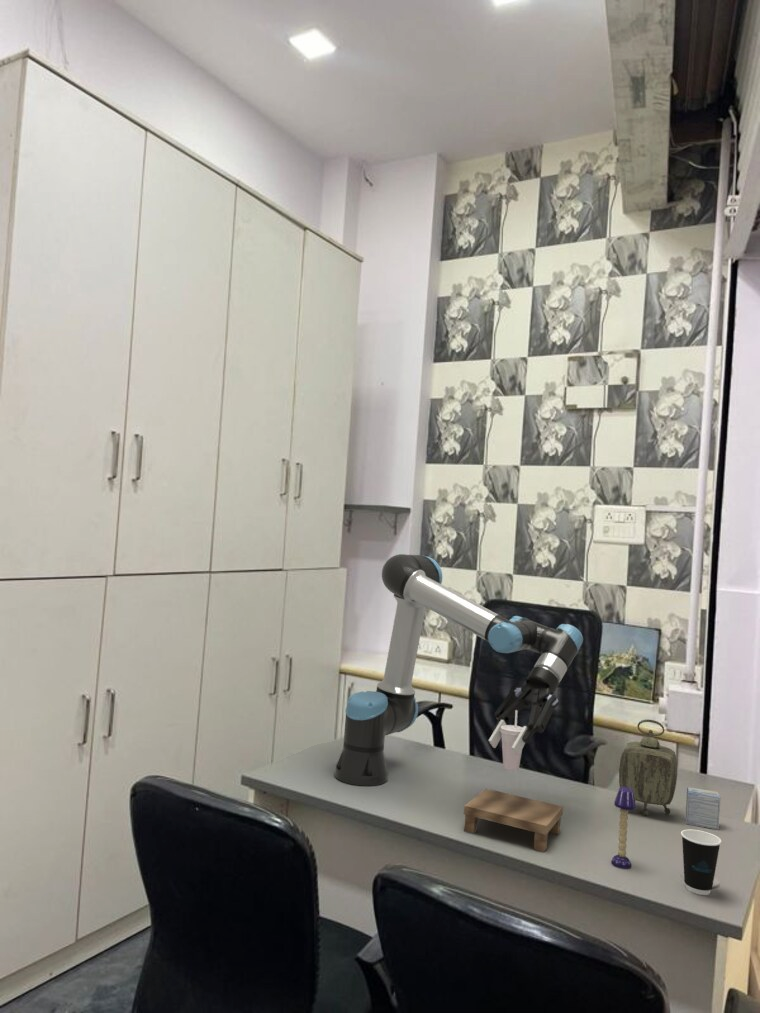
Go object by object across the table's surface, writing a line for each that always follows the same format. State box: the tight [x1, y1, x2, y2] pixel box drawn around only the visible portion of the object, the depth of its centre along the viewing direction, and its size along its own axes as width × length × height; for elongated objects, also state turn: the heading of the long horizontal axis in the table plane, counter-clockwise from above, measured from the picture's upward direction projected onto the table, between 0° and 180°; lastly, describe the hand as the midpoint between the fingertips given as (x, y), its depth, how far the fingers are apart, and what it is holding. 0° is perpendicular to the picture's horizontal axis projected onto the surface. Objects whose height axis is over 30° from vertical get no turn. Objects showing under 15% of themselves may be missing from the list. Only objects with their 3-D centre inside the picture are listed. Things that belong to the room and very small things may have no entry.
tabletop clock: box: [618, 719, 678, 817], centre depth 202 cm, size 14×9×25 cm, turn 65°
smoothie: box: [500, 710, 524, 771], centre depth 182 cm, size 6×6×14 cm
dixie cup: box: [680, 828, 723, 896], centre depth 157 cm, size 8×8×11 cm
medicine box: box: [685, 786, 721, 830], centre depth 197 cm, size 8×4×9 cm, turn 71°
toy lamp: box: [610, 786, 637, 869], centre depth 167 cm, size 5×5×17 cm
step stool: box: [463, 788, 564, 853], centre depth 181 cm, size 20×16×6 cm
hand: (503, 747), depth 180 cm, fingers closed on smoothie, 6 cm apart
